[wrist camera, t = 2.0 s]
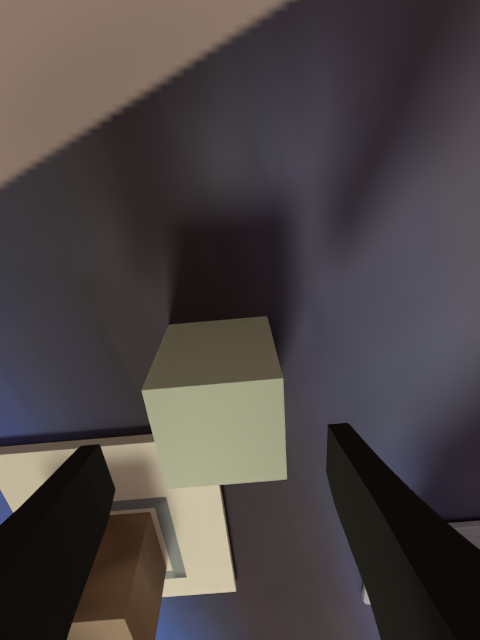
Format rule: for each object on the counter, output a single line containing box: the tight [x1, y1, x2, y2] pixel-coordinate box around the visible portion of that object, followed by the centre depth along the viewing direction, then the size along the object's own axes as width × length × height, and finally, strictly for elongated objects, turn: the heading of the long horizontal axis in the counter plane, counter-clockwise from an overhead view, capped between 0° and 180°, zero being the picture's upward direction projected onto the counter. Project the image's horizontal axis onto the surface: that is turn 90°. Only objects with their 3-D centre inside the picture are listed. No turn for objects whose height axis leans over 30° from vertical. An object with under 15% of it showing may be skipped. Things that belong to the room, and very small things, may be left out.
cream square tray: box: [0, 434, 236, 597], centre depth 20 cm, size 12×14×1 cm
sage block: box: [142, 316, 287, 489], centre depth 13 cm, size 4×4×5 cm
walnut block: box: [67, 512, 167, 640], centre depth 18 cm, size 6×6×5 cm
